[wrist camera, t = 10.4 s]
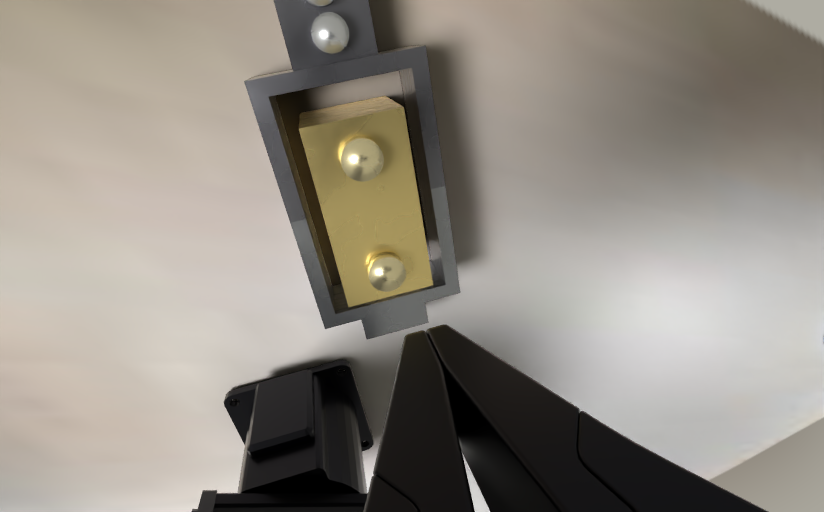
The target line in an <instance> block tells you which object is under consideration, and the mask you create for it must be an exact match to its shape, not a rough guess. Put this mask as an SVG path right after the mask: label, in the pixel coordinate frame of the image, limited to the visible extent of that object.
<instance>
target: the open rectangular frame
mask: <svg viewBox="0 0 824 512" xmlns="http://www.w3.org/2000/svg"><path fill="white" fill-rule="evenodd" d="M274 3H275V7H276V10H277V14H278V18H279V21H280V25H281V29H282V32H283V36H284V39H285V43H286V47H287V50H288V54H289V58H290V61H291V65H292V69H291V70H286V71H281V72H276V73H271V74H266V75H261V76H256V77H252V78H250V79H248V80H246V81H244V82H245V85H246V88H247V91H248V95H249V98H250V101H251V104H252V107H253V110H254V113H255V116H256V119H257V122H258V125H259V128H260V131H261V134H262V137H263V140H264V143H265V147H266V150H267V153H268V156H269V159H270V162H271V165H272V168H273V171H274V174H275V177H276V180H277V183H278V186H279V189H280V192H281V196H282V199H283V202H284V205H285V208H286V211H287V214H288V217H289V220H290V223H291V226H292V229H293V232H294V235H295V238H296V241H297V244H298V248H299V251H300V254H301V257H302V260H303V263H304V266H305V269H306V272H307V275H308V278H309V281H310V284H311V287H312V290H313V293H314V296H315V300H316V303H317V306H318V309H319V312H320V315H321V318H322V321H323V324H324V327H325V329H327V328H331V327H335V326H338V325H342V324H346V323H349V322H353V321H357V320H362V323H363V327H364V330H365V334H366V338H367V339H370V338H374V337H378V336H381V335H385V334H389V333H392V332H396V331H399V330H403V329H407V328H410V327H414V326H418V325H421V324H425V323H429V322H428V317H427V311H426V306H425V302H428V301H431V300H435V299H439V298H442V297H446V296H450V295H454V294H457V293H460V287H459V280H458V273H457V266H456V259H455V252H454V244H453V237H452V230H451V223H450V216H449V209H448V202H447V194H446V187H445V180H444V173H443V166H442V159H441V152H440V144H439V137H438V130H437V123H436V116H435V109H434V102H433V94H432V87H431V80H430V73H429V66H428V59H427V52H426V46H408V47H403V48H398V49H393V50H388V51H383V52H378V50H377V44H376V39H375V34H374V28H373V23H372V17H371V12H370V7H369V1H368V0H274ZM398 70H399V71H400V77H401V83H402V89H403V95H404V101H405V106H406V112H407V118H408V124H409V130H410V136H411V142H412V148H413V154H414V160H415V165H416V171H417V177H418V183H419V189H420V195H421V201H422V207H423V213H424V219H425V224H426V230H427V236H428V242H429V248H430V254H431V260H432V261H429V263H430V269H431V275H432V281H433V285H432V286H428V287H425V288H421V289H417V290H413V291H409V292H405V293H401V294H398V295H394V296H390V297H386V298H382V299H378V300H375V301H371V302H367V303H363V304H359V305H355V306H351V307H348V304H347V300H346V296H345V293H344V289H343V286H342V284H339V285H335V286H332V283H331V280H330V277H329V273H328V270H327V267H326V263H325V260H324V257H323V253H322V250H321V247H320V243H319V240H318V237H317V233H316V230H315V227H314V223H313V220H312V217H311V213H310V210H309V207H308V203H307V200H306V197H305V193H304V190H303V187H302V184H301V180H300V177H299V174H298V170H297V167H296V164H295V160H294V157H293V154H292V150H291V147H290V144H289V140H288V137H287V134H286V130H285V127H284V124H283V120H282V117H281V114H280V110H279V107H278V104H277V100H276V97H275V95H279V94H284V93H289V92H294V91H299V90H304V89H309V88H314V87H319V86H324V85H329V84H334V83H339V82H344V81H348V80H353V79H358V78H363V77H368V76H373V75H378V74H383V73H388V72H393V71H398Z"/></svg>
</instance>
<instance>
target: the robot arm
mask: <svg viewBox="0 0 824 512" xmlns="http://www.w3.org/2000/svg"><path fill="white" fill-rule="evenodd" d="M339 369H345V370H344V371H338V370H339ZM232 399H238V401H233V400H232ZM224 405H225V407H226V409H227V411H228V413H229V415H230V417H231V419H232V421H233V423H234V425H235V427H236V429H237V431H238V433H239V435H240V437H241V439H242V441H243V442H244V444H245V449H244V456H243V462H242V468H241V475H240V481H239V487H238V493H217V491H207V490H203V492H202V496H201V499H200V503H199V507H198V509H192V512H475V511H474V506H473V502H472V497H471V492H470V488H469V483H468V478H467V474H466V469H465V465H464V460H463V455H462V452H463V454H464V457H465V459H466V461H467V463H468V465H469V467H470V469H471V471H472V474H473V476H474V478H475V480H476V482H477V484H478V486H479V488H480V490H481V493H482V495H483V497H484V499H485V501H486V503H487V505H488V507H489V509H490V512H768V511H766V510H764V509H762V508H760V507H758V506H756V505H754V504H752V503H750V502H748V501H746V500H745V499H743V498H741V497H739V496H737V495H735V494H733V493H731V492H729V491H727V490H725V489H723V488H721V487H719V486H717V485H715V484H713V483H711V482H709V481H708V480H706V479H704V478H702V477H700V476H698V475H696V474H694V473H692V472H690V471H688V470H686V469H684V468H682V467H680V466H678V465H676V464H674V463H672V462H670V461H669V460H667V459H665V458H663V457H661V456H659V455H657V454H656V453H654V452H652V451H650V450H648V449H646V448H644V447H643V446H641V445H639V444H637V443H635V442H633V441H632V440H630V439H628V438H627V437H625V436H623V435H621V434H620V433H618V432H616V431H615V430H613V429H611V428H610V427H608V426H606V425H605V424H603V423H601V422H600V421H598V420H597V419H595V418H594V417H592V416H590V415H589V414H587V413H586V412H584V411H581V412H580V410H579V408H577V407H576V406H574V405H573V404H571V403H569V402H568V401H566V400H565V399H563V398H562V397H560V396H558V395H557V394H555V393H554V392H552V391H551V390H549V389H547V388H546V387H544V386H543V385H541V384H539V383H538V382H536V381H535V380H533V379H532V378H530V377H528V376H527V375H525V374H524V373H522V372H520V371H519V370H517V369H516V368H514V367H513V366H511V365H509V364H508V363H506V362H505V361H503V360H502V359H500V358H498V357H497V356H495V355H494V354H492V353H490V352H489V351H487V350H486V349H484V348H483V347H481V346H479V345H478V344H476V343H475V342H473V341H471V340H470V339H468V338H467V337H465V336H464V335H462V334H460V333H459V332H457V331H456V330H454V329H453V328H451V327H449V326H448V325H440V326H436V327H433V328H429V329H428V330H427V332H425V331H418V332H415V333H411V334H408V335H406V336H405V338H404V342H403V346H402V351H401V355H400V359H399V364H398V368H397V372H396V377H395V381H394V385H393V389H392V394H391V398H390V402H389V407H388V411H387V415H386V420H385V424H384V428H383V433H382V437H381V441H380V445H379V450H378V454H377V458H376V463H375V467H374V471H373V474H374V476H373V477H372V479H371V483H370V487H369V492H368V493H367V487H366V479H365V472H364V464H363V457H362V451H365V450H368V449H370V448H371V447H372V446H373V436H372V433H371V430H370V426H369V423H368V420H367V417H366V413H365V410H364V407H363V404H362V400H361V397H360V394H359V391H358V387H357V384H356V381H355V378H354V374H353V371H352V368H351V365H350V363H349V362H348V361H346V360H338V361H335V362H331V363H328V364H324V365H320V366H317V367H313V368H310V369H306V370H302V371H299V372H295V373H292V374H288V375H284V376H281V377H277V378H274V379H270V380H266V381H263V382H259V383H256V384H252V385H248V386H245V387H241V388H238V389H234V390H231V391H229V392H228V393H227V394H226V396H225V400H224ZM363 441H365V442H363ZM461 450H462V451H461Z"/></svg>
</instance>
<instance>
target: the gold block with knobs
mask: <svg viewBox="0 0 824 512" xmlns="http://www.w3.org/2000/svg"><path fill="white" fill-rule="evenodd" d="M299 132H300V135H301V139H302V142H303V146H304V150H305V153H306V157H307V160H308V164H309V168H310V171H311V175H312V178H313V182H314V185H315V189H316V193H317V196H318V200H319V203H320V207H321V210H322V214H323V218H324V221H325V225H326V228H327V232H328V236H329V239H330V243H331V246H332V250H333V253H334V257H335V261H336V264H337V268H338V271H339V275H340V279H341V282H342V286H343V289H344V293H345V296H346V300H347V304H348V307H351V306H355V305H359V304H363V303H367V302H371V301H375V300H378V299H382V298H386V297H390V296H394V295H398V294H401V293H405V292H409V291H413V290H417V289H421V288H425V287H428V286H432V285H433V281H432V275H431V269H430V263H429V257H428V251H427V245H426V239H425V232H424V226H423V220H422V214H421V208H420V202H419V196H418V190H417V184H416V178H415V172H414V166H413V160H412V154H411V148H410V142H409V136H408V129H407V123H406V117H405V111H404V107H403V106H401V105H400V104H398V103H396V102H395V101H393V100H391V99H389V98H388V97H386V96H382V97H377V98H372V99H367V100H362V101H357V102H352V103H347V104H342V105H338V106H333V107H328V108H323V109H318V110H313V111H308V112H303V113H300V120H299Z"/></svg>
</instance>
